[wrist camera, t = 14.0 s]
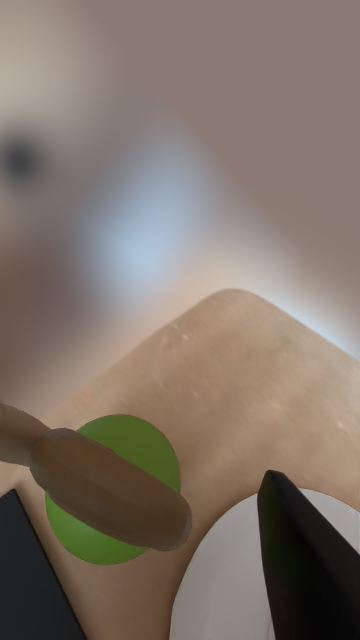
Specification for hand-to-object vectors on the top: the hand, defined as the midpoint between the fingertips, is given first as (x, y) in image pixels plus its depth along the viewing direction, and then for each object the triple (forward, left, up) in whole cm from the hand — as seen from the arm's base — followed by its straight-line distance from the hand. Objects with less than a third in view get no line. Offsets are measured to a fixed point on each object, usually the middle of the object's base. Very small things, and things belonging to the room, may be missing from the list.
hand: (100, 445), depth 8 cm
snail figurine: (-1, 0, -9) cm, 9 cm away
